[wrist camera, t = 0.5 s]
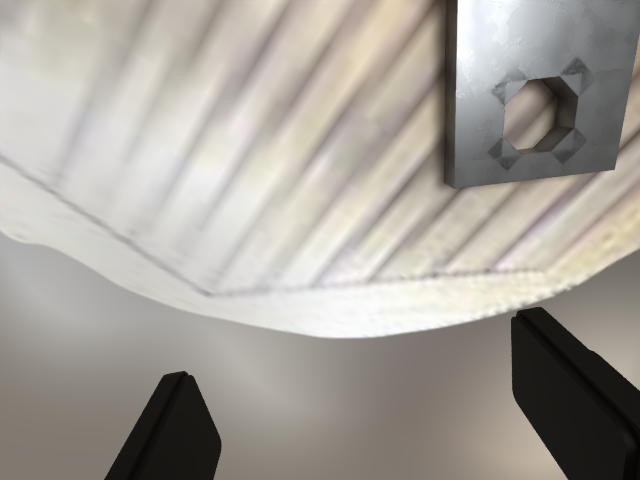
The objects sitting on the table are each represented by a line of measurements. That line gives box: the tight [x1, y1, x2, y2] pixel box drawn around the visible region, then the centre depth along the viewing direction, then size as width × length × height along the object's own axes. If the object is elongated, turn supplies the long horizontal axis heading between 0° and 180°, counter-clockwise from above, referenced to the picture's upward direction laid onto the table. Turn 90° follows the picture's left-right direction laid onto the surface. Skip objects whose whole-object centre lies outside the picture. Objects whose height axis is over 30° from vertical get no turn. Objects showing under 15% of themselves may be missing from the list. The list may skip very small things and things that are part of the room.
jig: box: [444, 0, 640, 189], centre depth 31 cm, size 22×16×7 cm
